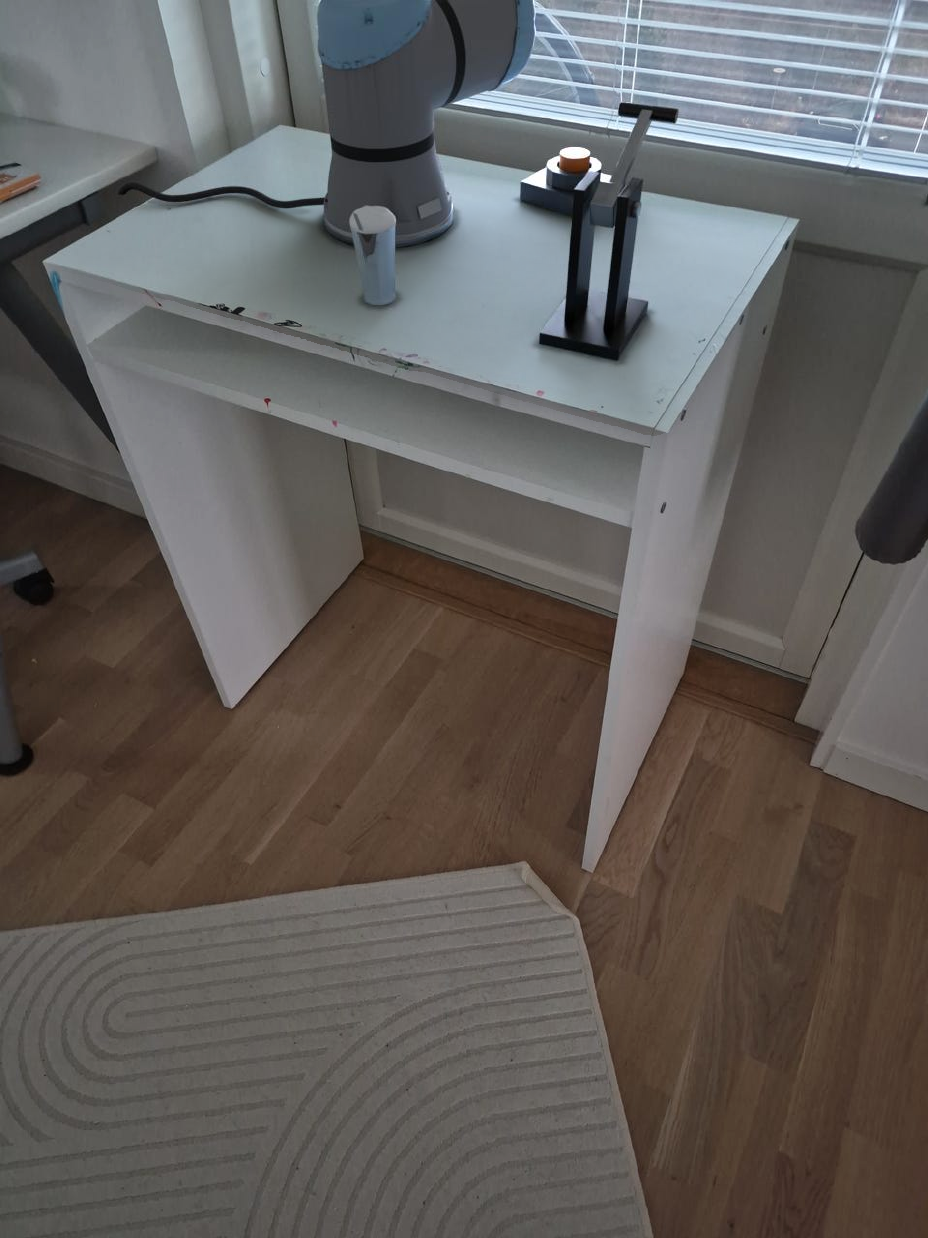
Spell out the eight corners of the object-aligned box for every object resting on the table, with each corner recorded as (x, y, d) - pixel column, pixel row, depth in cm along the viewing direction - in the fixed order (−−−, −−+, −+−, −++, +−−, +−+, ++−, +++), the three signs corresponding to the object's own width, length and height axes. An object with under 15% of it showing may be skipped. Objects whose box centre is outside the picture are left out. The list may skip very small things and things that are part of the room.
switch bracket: (572, 297, 92) (583, 156, 82) (647, 311, 90) (668, 169, 80) (538, 344, 86) (546, 198, 76) (617, 361, 84) (636, 213, 73)
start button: (553, 169, 106) (553, 153, 104) (570, 159, 107) (571, 144, 106) (578, 176, 104) (579, 160, 103) (594, 166, 106) (596, 151, 105)
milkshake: (345, 307, 91) (333, 208, 84) (371, 284, 95) (362, 187, 87) (384, 316, 90) (375, 217, 83) (409, 292, 93) (402, 195, 86)
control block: (519, 199, 108) (520, 165, 106) (557, 178, 113) (559, 145, 110) (587, 220, 104) (590, 185, 101) (624, 198, 108) (628, 163, 105)
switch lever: (621, 115, 85) (621, 92, 83) (677, 123, 83) (679, 99, 81) (572, 221, 80) (571, 200, 78) (631, 231, 79) (631, 209, 77)
